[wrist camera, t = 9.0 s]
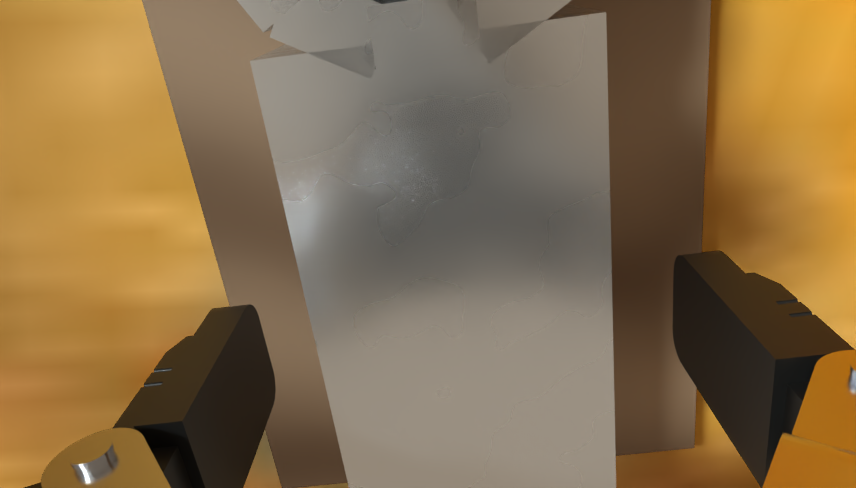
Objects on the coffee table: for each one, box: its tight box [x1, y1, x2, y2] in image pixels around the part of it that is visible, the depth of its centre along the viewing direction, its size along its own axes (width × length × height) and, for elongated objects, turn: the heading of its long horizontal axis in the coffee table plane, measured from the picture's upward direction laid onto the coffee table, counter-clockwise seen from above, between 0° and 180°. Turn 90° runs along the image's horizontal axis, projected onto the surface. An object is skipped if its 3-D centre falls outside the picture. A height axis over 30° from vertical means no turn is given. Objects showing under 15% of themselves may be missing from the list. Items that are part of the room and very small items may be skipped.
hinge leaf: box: [237, 0, 616, 488], centre depth 12 cm, size 16×6×4 cm, turn 7°
